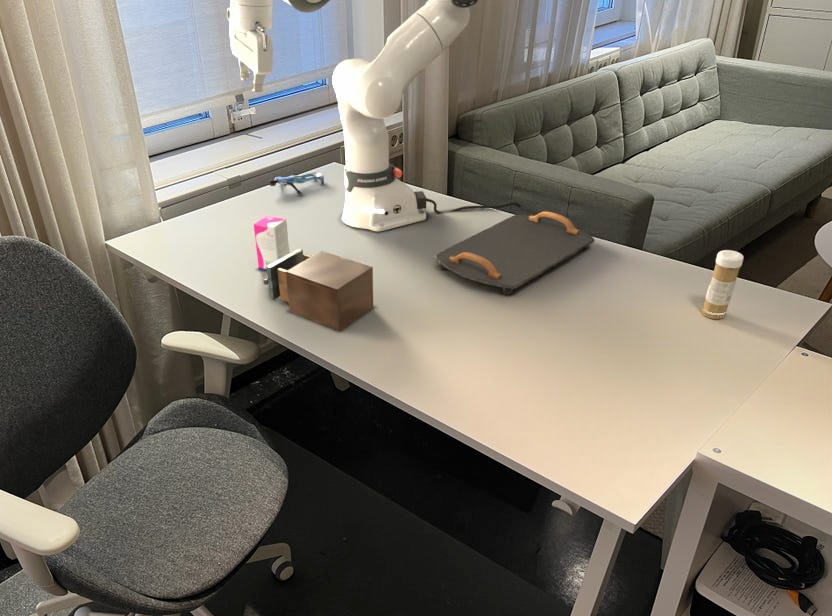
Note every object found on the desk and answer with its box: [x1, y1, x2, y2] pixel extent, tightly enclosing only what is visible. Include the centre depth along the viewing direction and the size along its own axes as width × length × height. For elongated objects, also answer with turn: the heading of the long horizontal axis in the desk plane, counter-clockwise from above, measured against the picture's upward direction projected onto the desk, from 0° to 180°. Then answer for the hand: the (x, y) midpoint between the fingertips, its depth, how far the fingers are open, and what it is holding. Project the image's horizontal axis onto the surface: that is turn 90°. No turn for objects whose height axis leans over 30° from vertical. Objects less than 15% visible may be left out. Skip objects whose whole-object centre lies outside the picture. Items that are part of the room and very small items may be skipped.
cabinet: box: [286, 250, 374, 332], centre depth 147 cm, size 14×12×10 cm
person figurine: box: [268, 172, 325, 196], centre depth 207 cm, size 11×4×18 cm
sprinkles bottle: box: [701, 249, 745, 320], centre depth 140 cm, size 5×5×13 cm
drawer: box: [263, 248, 313, 303], centre depth 152 cm, size 16×10×8 cm, turn 52°
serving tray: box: [434, 211, 596, 296], centre depth 165 cm, size 39×23×6 cm, turn 133°
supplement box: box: [253, 215, 291, 272], centre depth 165 cm, size 6×6×12 cm
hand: (251, 85), depth 158 cm, fingers open, 8 cm apart
